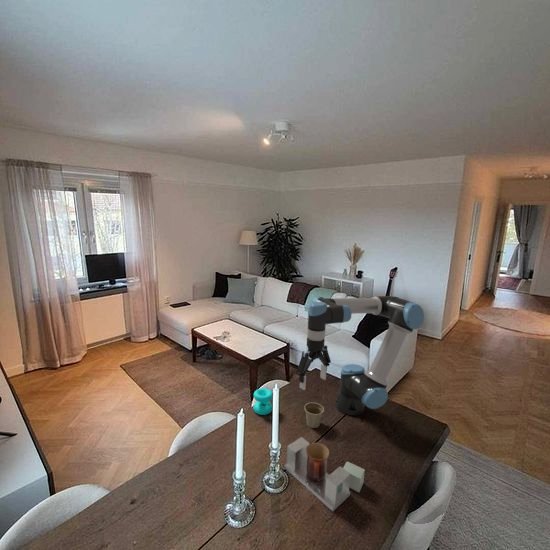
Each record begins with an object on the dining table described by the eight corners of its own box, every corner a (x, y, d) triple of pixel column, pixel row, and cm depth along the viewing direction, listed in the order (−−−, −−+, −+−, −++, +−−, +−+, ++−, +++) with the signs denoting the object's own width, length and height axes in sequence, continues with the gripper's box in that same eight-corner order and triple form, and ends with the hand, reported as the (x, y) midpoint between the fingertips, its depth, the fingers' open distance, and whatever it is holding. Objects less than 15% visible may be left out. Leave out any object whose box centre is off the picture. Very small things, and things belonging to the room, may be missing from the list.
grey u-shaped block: (301, 455, 128) (302, 435, 127) (350, 495, 110) (352, 473, 109) (284, 467, 122) (284, 446, 120) (333, 512, 104) (335, 488, 102)
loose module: (345, 474, 120) (346, 461, 118) (363, 483, 116) (364, 469, 115) (340, 483, 115) (342, 469, 114) (359, 492, 112) (360, 478, 111)
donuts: (269, 399, 150) (250, 395, 153) (268, 418, 152) (250, 413, 155) (275, 389, 159) (257, 385, 162) (275, 406, 161) (257, 402, 164)
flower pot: (322, 432, 143) (324, 415, 141) (302, 429, 144) (303, 412, 143) (323, 419, 152) (324, 403, 151) (304, 416, 154) (305, 401, 152)
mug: (305, 463, 122) (307, 440, 120) (327, 467, 121) (329, 444, 119) (302, 488, 111) (303, 464, 109) (326, 493, 109) (328, 468, 107)
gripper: (327, 329, 142) (324, 371, 145) (288, 342, 125) (286, 389, 129) (340, 334, 136) (337, 377, 140) (302, 348, 120) (299, 397, 124)
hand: (313, 383), depth 134 cm, fingers open, 13 cm apart
